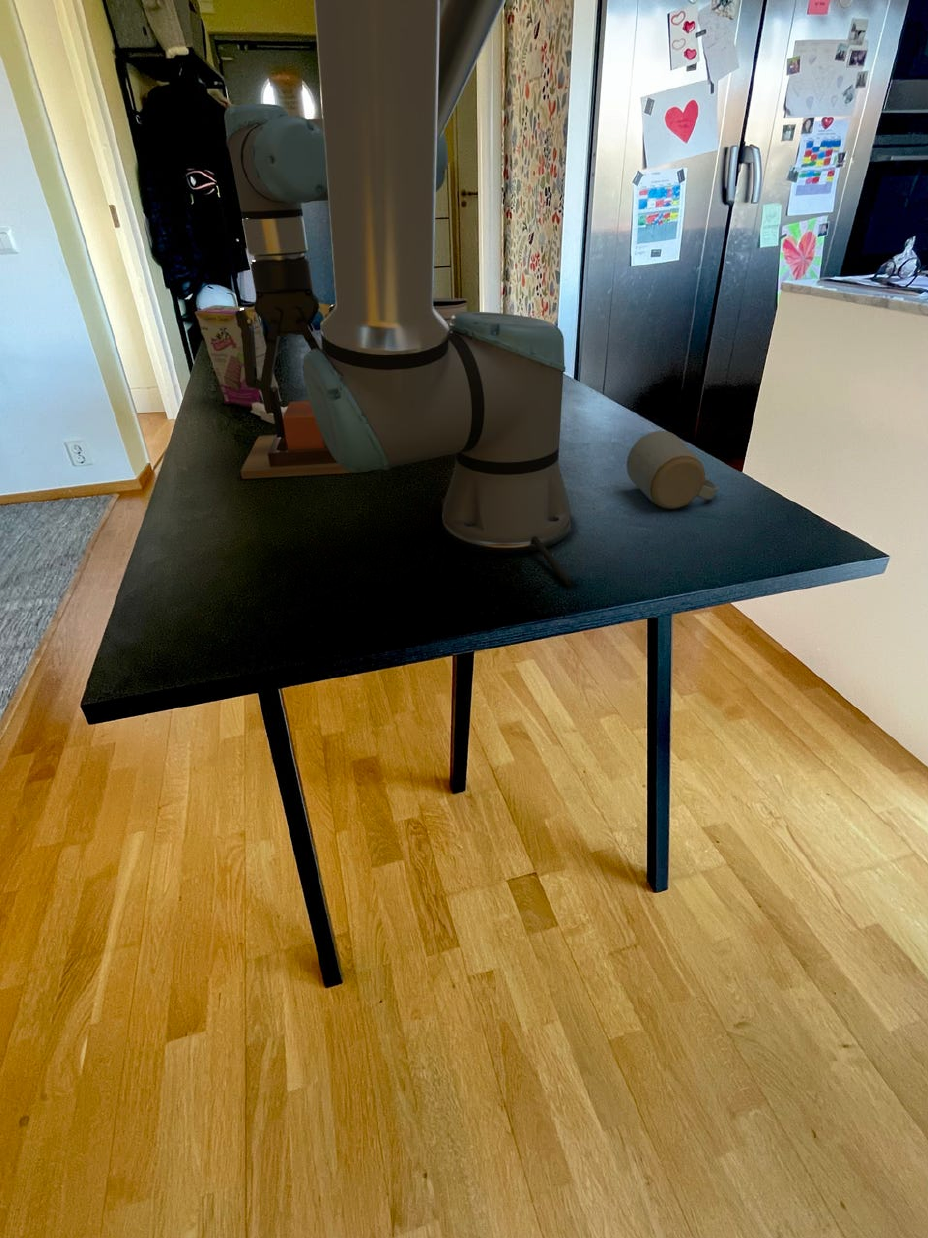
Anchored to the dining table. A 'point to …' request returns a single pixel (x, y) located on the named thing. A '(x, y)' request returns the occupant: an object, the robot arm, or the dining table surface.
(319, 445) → the orange block
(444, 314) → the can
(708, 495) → the ceramic mug
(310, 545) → the dining table surface
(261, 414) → the corner connector
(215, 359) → the candy bar box
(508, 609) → the dining table surface
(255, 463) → the wooden board with frame
